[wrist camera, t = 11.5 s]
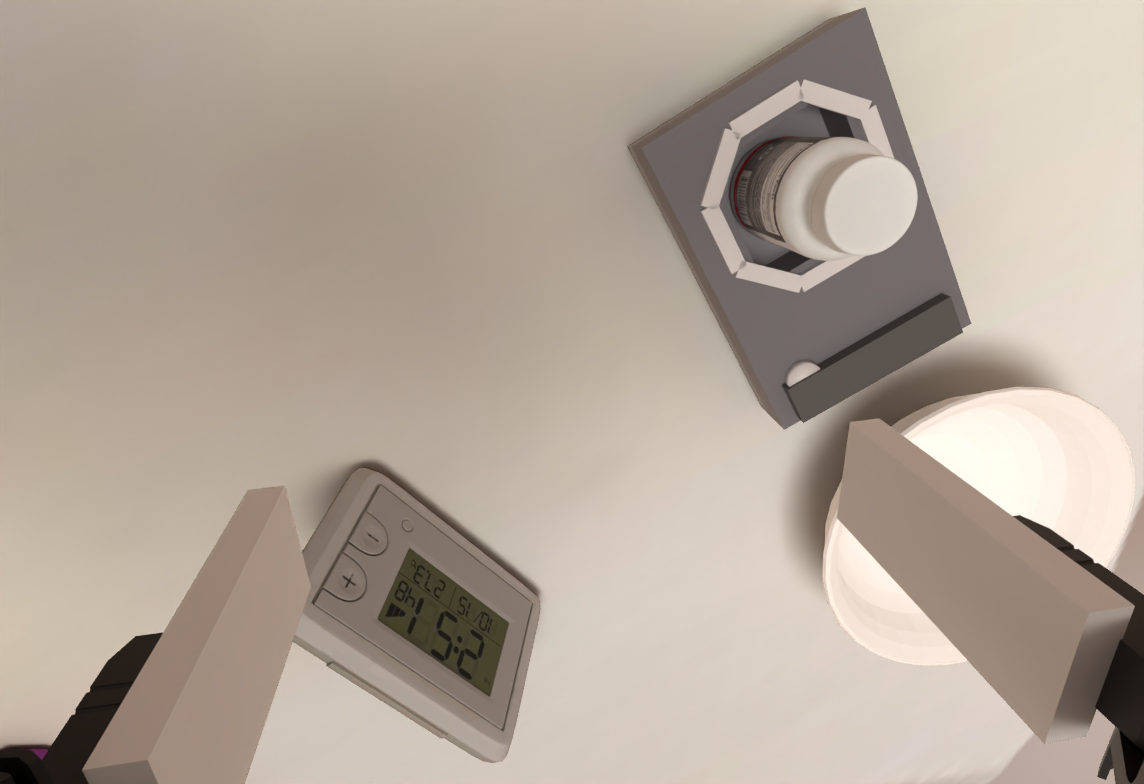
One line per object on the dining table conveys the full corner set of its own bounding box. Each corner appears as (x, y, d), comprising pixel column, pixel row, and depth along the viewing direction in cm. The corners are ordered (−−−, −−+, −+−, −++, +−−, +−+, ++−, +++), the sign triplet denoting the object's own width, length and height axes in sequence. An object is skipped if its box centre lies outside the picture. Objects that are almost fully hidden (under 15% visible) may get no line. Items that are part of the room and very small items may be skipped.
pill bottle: (842, 169, 35) (962, 182, 26) (785, 256, 37) (879, 297, 28) (765, 115, 34) (863, 109, 25) (708, 208, 35) (781, 234, 26)
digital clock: (550, 604, 45) (567, 735, 36) (443, 665, 46) (430, 809, 36) (410, 430, 39) (383, 529, 29) (289, 504, 40) (225, 624, 30)
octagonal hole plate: (627, 146, 35) (645, 148, 31) (829, 19, 33) (874, 4, 29) (761, 406, 41) (790, 435, 37) (932, 308, 40) (980, 327, 36)
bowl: (1067, 536, 49) (1147, 591, 43) (821, 640, 50) (866, 709, 44) (1033, 301, 41) (1125, 329, 35) (743, 430, 42) (785, 479, 36)
